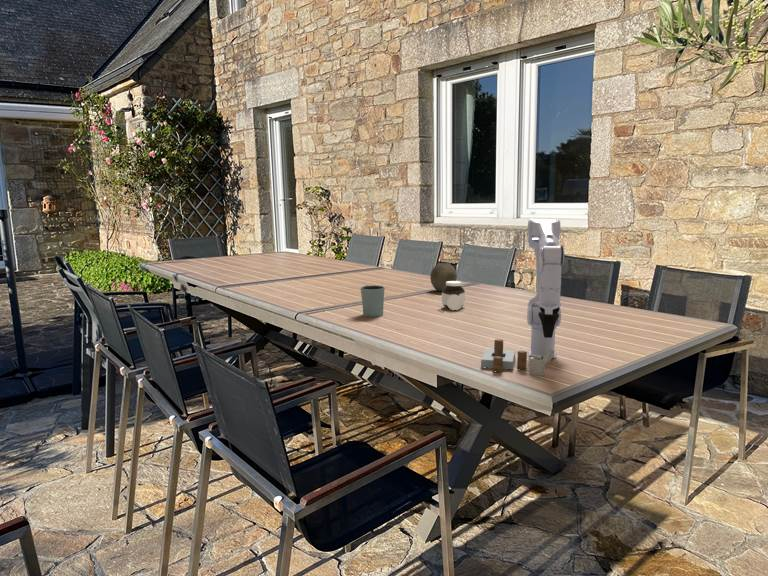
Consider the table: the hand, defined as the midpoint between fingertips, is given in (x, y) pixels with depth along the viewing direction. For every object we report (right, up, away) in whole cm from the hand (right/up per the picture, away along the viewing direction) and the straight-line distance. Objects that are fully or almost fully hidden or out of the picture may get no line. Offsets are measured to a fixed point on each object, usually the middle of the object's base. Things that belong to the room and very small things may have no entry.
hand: (548, 334), depth 164 cm
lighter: (-4, -11, -5) cm, 13 cm away
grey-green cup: (-52, +2, +77) cm, 93 cm away
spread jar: (-16, +4, +91) cm, 92 cm away
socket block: (-13, -9, +6) cm, 17 cm away
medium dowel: (-8, -10, +1) cm, 13 cm away
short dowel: (-15, -10, -1) cm, 18 cm away
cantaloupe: (-16, +11, +137) cm, 138 cm away
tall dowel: (-13, -9, +6) cm, 17 cm away
